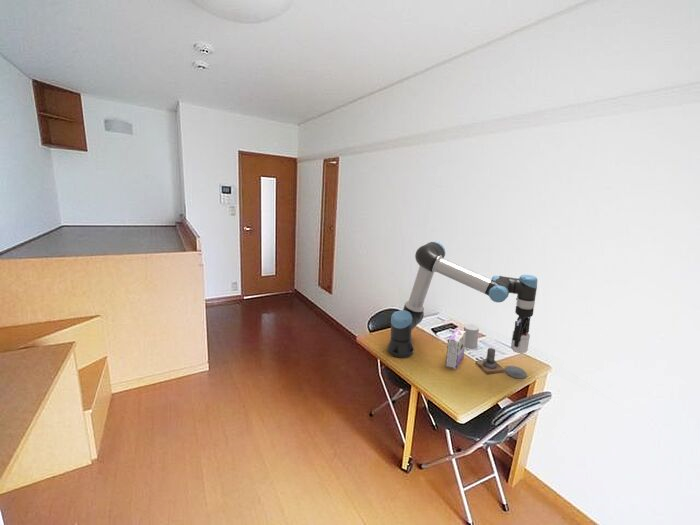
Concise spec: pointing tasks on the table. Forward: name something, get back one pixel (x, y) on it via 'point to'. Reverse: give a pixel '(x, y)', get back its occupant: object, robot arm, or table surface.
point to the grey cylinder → (522, 342)
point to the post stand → (490, 363)
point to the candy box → (455, 348)
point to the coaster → (515, 372)
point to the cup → (471, 336)
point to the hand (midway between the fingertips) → (519, 349)
